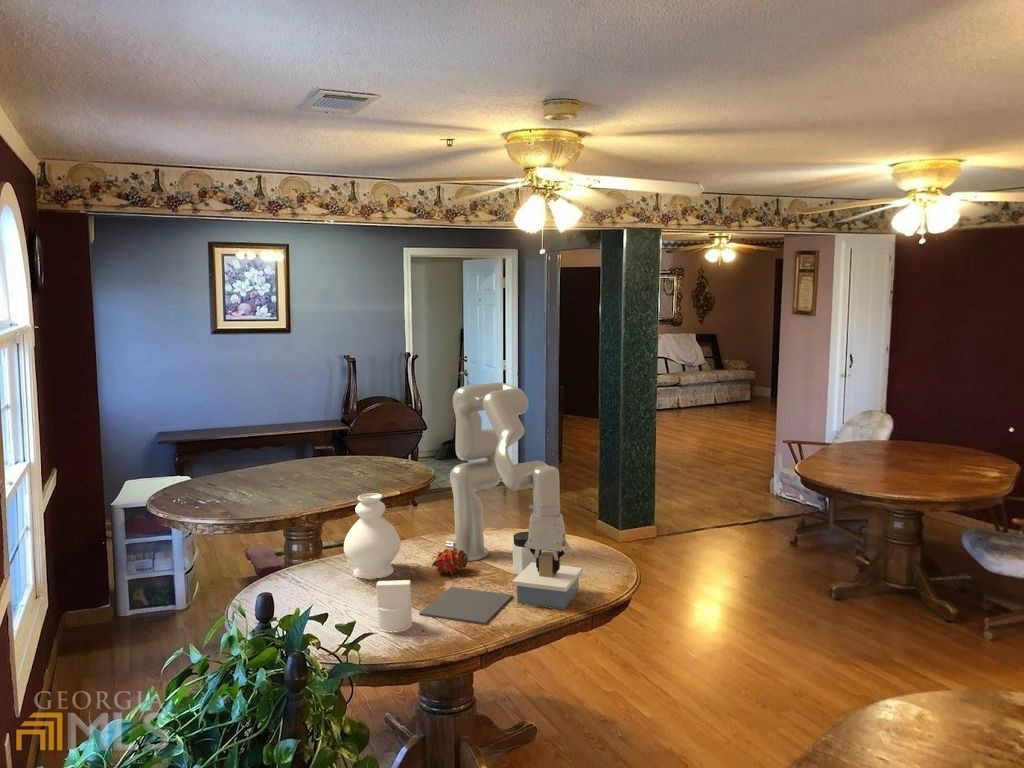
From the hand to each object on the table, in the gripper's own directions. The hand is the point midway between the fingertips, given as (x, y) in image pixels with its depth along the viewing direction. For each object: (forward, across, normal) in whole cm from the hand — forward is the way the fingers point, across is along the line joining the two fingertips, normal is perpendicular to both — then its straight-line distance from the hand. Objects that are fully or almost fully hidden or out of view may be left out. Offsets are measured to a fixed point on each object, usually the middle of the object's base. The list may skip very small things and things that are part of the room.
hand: (548, 570), depth 228 cm
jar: (+8, -13, +17) cm, 23 cm away
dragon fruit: (+8, -36, +9) cm, 38 cm away
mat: (+8, -20, -13) cm, 25 cm away
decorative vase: (+8, -60, +2) cm, 61 cm away
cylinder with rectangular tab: (+8, -33, -31) cm, 46 cm away
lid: (+2, 0, 0) cm, 2 cm away
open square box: (+8, 0, 0) cm, 8 cm away
